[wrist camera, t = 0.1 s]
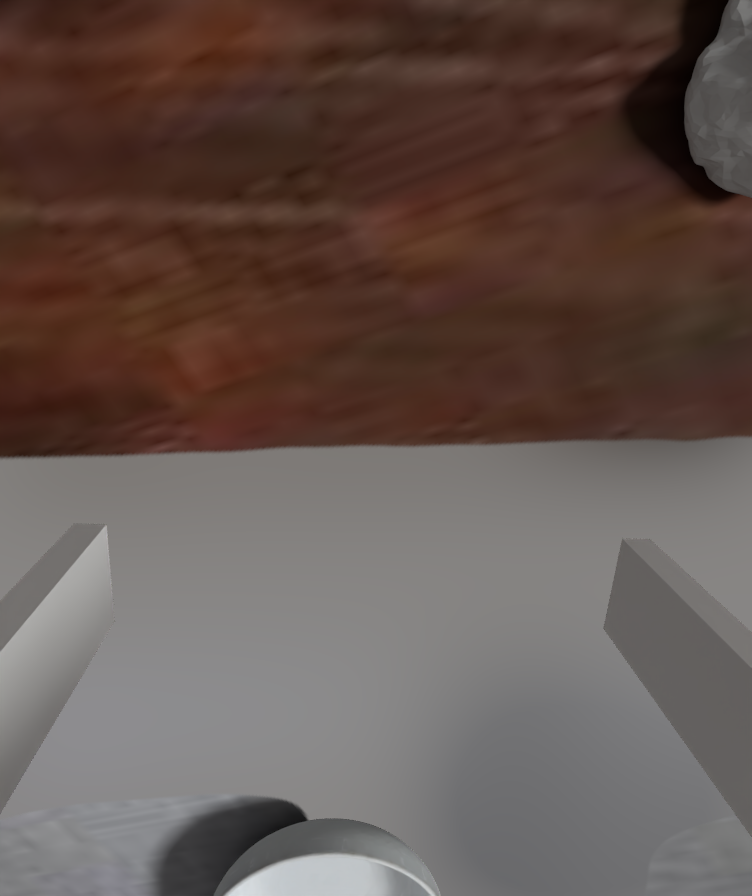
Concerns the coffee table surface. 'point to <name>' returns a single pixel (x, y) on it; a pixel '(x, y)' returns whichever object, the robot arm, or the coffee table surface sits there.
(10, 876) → the coffee table surface
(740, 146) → the decorative stone
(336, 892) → the serving bowl
